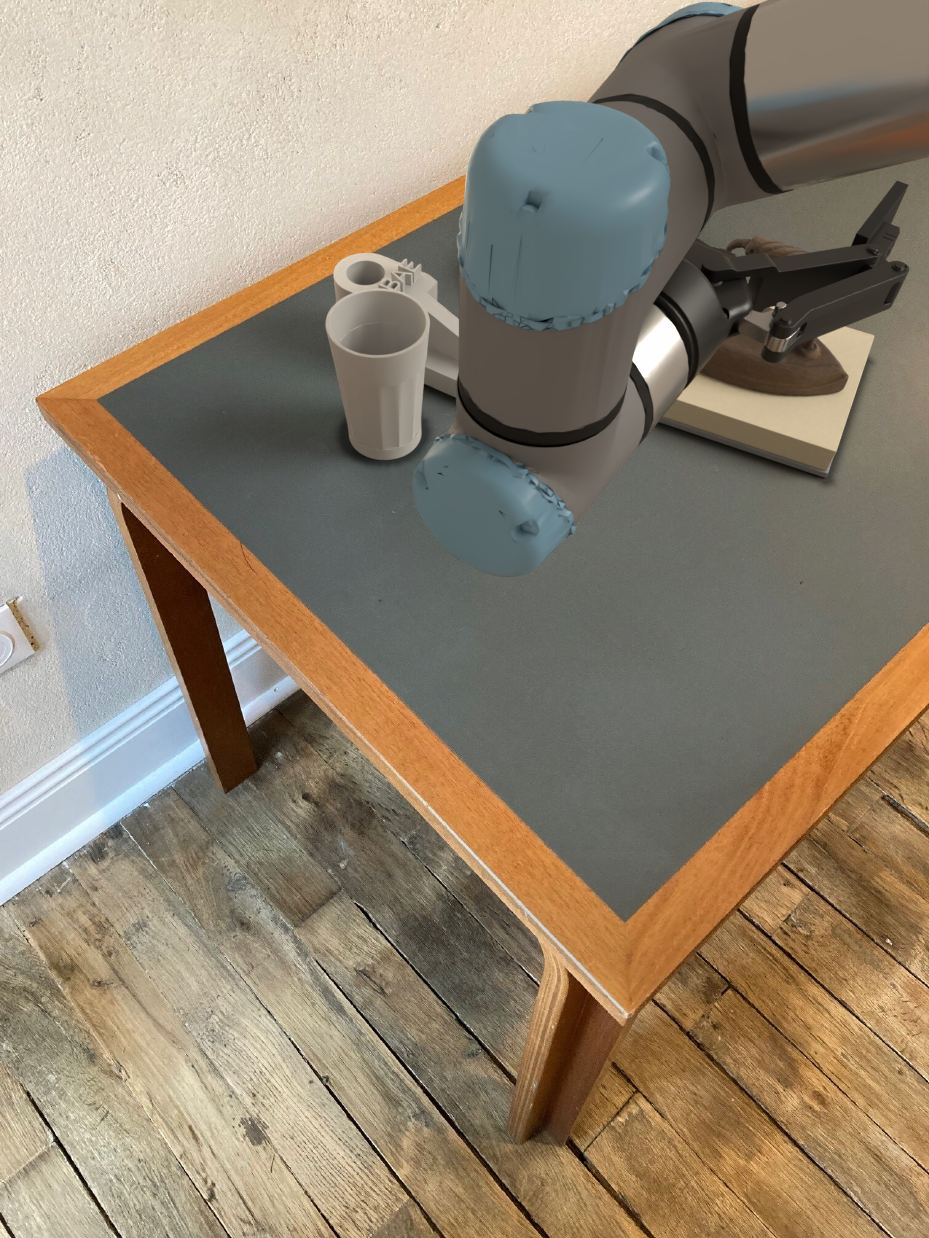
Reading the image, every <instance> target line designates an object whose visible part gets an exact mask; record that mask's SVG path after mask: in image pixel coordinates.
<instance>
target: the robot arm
mask: <svg viewBox="0 0 929 1238" xmlns="http://www.w3.org/2000/svg"><path fill="white" fill-rule="evenodd" d="M927 158H929V0H764V1H762V2H760V3H757V4H754V5H751V6H748V7H742V6H738V5H734V4H733V5H732V4H730V3H726V2H718V1H701V2H696V3H692V4H689V5H687V6H684V7H681V8H679V9H678V10H675V11H674V12H673V13H671V14H669V15H668V16H666V17H665V18H664V19H663V20H662V21H660V23H658V24H657V25H655V26H653V27H652V28H650V29H649V30H647V31H646V32H644V33H643V34H641V35H640V36H639V38H638V39H637V40H636V41H635V43H634V44H633V45H632V46H631V47H630V48H628V49H627V50H626V51H625V53H624V54H623V55H622V57H621V59H620V60H619V61H618V63H617V65H616V66H615V68H614V69H613V71H611V73H610V74H609V75H608V77H607V78H606V79H605V80H604V81H603V82H602V83H601V85H600V86H599V87H598V88H597V89H596V90H595V92H594V93H593V94H592V95H591V96H590V98H589V99H588V100H587V101H581V100H551V101H542V102H538V103H533V104H532V105H530V106H528V108H527V110H525V113H509V114H508V113H507V114H505V115H503V116H501V117H499V118H497V119H496V120H495V121H493V122H492V123H491V124H490V125H489V126H487V128H486V129H484V131H483V132H482V133H481V134H480V136H479V137H478V138H477V140H476V142H475V143H474V145H473V147H472V150H471V151H470V154H469V157H468V160H467V164H466V171H465V181H464V193H463V194H464V195H463V204H462V210H461V213H460V216H459V219H458V228H459V232H458V233H457V235H456V248H457V251H458V252H457V260H458V319H459V372H458V377H457V389H456V398H455V418H454V420H453V423H452V425H451V426H450V428H449V429H448V430H447V431H446V432H444V433H443V434H440V435H438V436H437V437H435V439H434V440H433V443H432V445H431V447H430V448H429V450H428V451H427V452H426V454H425V455H424V456H423V458H422V459H421V461H420V462H419V464H418V465H417V466H416V468H415V470H414V473H413V475H412V478H411V479H412V481H411V493H412V500H413V502H414V506H415V508H416V511H417V513H418V515H419V517H420V519H421V521H422V523H423V524H424V525H425V527H426V528H427V530H428V531H429V533H430V534H431V535H432V536H433V538H434V539H435V540H436V541H437V542H438V543H439V544H440V545H441V546H442V548H444V549H446V551H447V552H448V553H450V555H452V556H454V557H455V558H456V559H457V560H460V561H462V562H464V563H465V564H467V565H468V566H471V567H472V568H474V569H475V570H477V571H479V572H482V573H485V574H487V575H491V576H495V577H500V578H501V577H502V578H516V577H520V576H524V575H527V574H528V573H529V574H530V573H531V572H533V571H535V570H536V569H537V568H538V567H539V566H540V565H542V564H543V563H544V561H545V560H546V559H547V558H548V557H549V556H550V555H551V554H552V553H553V552H554V551H555V550H556V549H557V548H558V547H559V545H561V543H562V542H563V541H565V539H568V538H570V536H572V535H574V533H575V532H576V530H577V524H578V523H579V522H580V520H581V519H582V518H583V517H584V516H585V515H586V513H587V512H588V510H589V509H590V508H591V507H592V506H593V505H594V503H595V502H596V500H597V499H598V498H599V497H600V496H601V494H602V493H603V491H604V490H605V489H607V487H608V486H609V484H610V483H611V481H612V480H613V479H614V478H615V477H616V476H617V474H618V473H619V472H620V470H621V469H622V468H623V467H624V465H625V464H626V463H627V461H628V460H630V458H631V457H632V455H633V454H634V453H635V451H636V450H637V449H638V447H639V446H640V445H641V444H642V443H643V441H644V440H645V439H646V438H647V436H649V434H650V432H652V430H653V429H654V428H655V427H656V426H657V424H658V423H660V422H659V420H660V419H661V418H662V417H663V416H664V414H665V413H666V412H667V411H668V409H669V408H670V407H671V406H672V405H673V403H674V402H675V401H676V400H677V398H678V397H679V396H680V395H681V394H682V392H683V390H685V389H686V388H687V387H688V385H689V384H690V383H691V382H692V381H693V379H694V378H695V377H696V376H697V374H698V373H699V372H700V371H701V370H702V368H703V367H704V366H705V365H706V363H707V362H708V361H709V360H710V359H711V357H712V356H713V355H714V354H715V352H716V351H717V350H718V348H719V347H720V346H721V344H722V343H723V342H724V341H725V340H727V339H729V338H731V337H735V336H737V335H739V334H741V333H742V334H744V335H746V336H748V337H750V338H752V339H754V340H755V341H757V342H759V343H761V344H763V345H764V346H763V349H762V352H761V357H762V358H763V359H764V360H765V361H767V362H769V363H778V362H780V361H781V360H782V359H783V358H785V357H786V356H787V355H788V354H789V353H790V352H791V351H792V350H793V349H794V348H795V347H796V346H797V345H800V344H802V343H805V342H807V341H810V340H812V339H815V338H817V337H820V336H822V335H825V334H827V333H830V332H832V331H835V330H837V329H840V328H842V327H848V326H849V325H852V324H854V323H857V322H859V321H862V320H865V319H867V318H870V317H872V316H875V315H877V314H880V313H882V312H885V311H887V310H890V309H891V308H892V306H893V305H894V302H895V300H896V299H897V296H898V295H899V293H900V290H901V289H902V287H903V285H904V283H905V281H906V279H907V276H908V274H909V272H910V266H909V265H908V264H907V263H905V262H903V261H900V260H892V261H888V260H887V258H888V257H889V256H890V255H891V253H892V251H893V249H894V246H895V244H896V242H897V240H898V238H899V235H900V234H901V228H900V226H897V225H894V224H892V223H893V221H894V219H895V217H896V214H897V213H898V210H899V208H900V206H901V203H902V201H903V199H904V196H905V194H906V192H907V190H908V188H909V184H908V183H905V182H902V181H901V180H896V181H895V183H894V184H893V185H892V186H891V187H890V189H889V190H888V192H887V193H886V194H885V195H884V197H883V198H882V199H881V200H880V202H879V203H878V204H877V206H876V207H875V208H874V209H873V211H872V212H871V214H870V215H869V216H868V218H866V220H865V221H864V223H863V224H861V225H862V226H861V227H860V228H859V229H858V230H857V231H856V232H855V235H854V237H853V240H852V242H851V245H849V246H843V247H837V248H830V249H825V250H817V251H812V252H810V251H809V252H810V253H804V254H798V255H791V256H785V257H778V258H770V257H769V256H768V254H766V253H757V254H751V255H745V254H744V255H739V256H737V254H736V253H733V252H729V251H726V250H725V248H724V249H723V248H719V247H715V246H711V245H709V244H708V243H706V242H704V241H703V240H702V239H700V238H698V237H699V236H700V235H701V233H702V231H703V230H704V228H705V226H706V225H707V223H708V222H709V221H710V219H712V218H713V217H712V216H714V214H715V213H716V212H717V211H721V210H722V209H724V208H725V209H726V208H728V207H731V206H736V205H740V204H745V203H748V202H753V201H758V200H762V199H766V198H769V197H770V198H771V197H773V196H778V195H780V194H781V195H782V194H785V193H788V192H789V193H790V192H793V191H795V190H797V189H800V188H804V187H805V188H806V187H809V186H813V185H817V184H822V183H825V182H830V181H835V180H838V179H843V178H848V177H853V176H857V175H859V174H865V173H868V172H873V171H877V170H881V169H885V168H889V167H893V166H894V167H895V166H899V165H902V164H906V163H910V162H914V161H919V160H923V159H927ZM747 278H749V279H748V280H747ZM773 306H775V308H774V309H771V310H769V311H767V312H762V311H763V310H764V309H766V308H768V307H773Z"/></svg>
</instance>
